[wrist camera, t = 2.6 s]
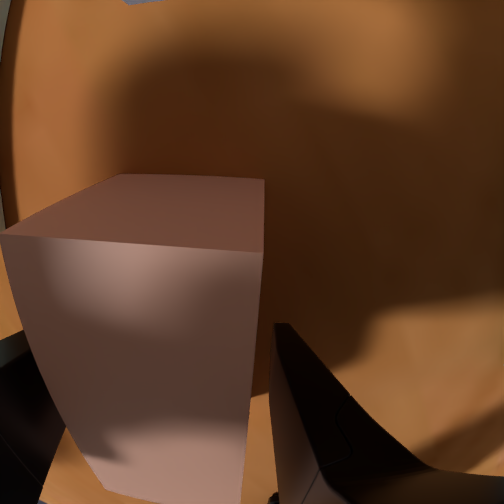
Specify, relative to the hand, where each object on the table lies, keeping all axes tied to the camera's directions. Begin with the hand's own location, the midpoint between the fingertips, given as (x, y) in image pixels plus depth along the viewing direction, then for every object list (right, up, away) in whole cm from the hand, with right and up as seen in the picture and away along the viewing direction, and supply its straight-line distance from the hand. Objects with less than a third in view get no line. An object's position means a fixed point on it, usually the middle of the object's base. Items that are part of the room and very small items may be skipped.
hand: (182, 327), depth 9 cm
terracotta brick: (0, 0, +1) cm, 1 cm away
